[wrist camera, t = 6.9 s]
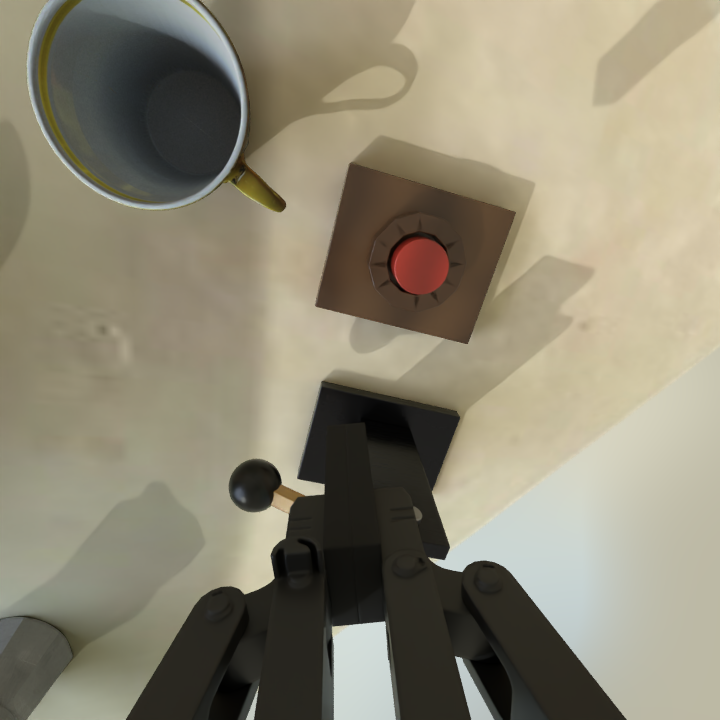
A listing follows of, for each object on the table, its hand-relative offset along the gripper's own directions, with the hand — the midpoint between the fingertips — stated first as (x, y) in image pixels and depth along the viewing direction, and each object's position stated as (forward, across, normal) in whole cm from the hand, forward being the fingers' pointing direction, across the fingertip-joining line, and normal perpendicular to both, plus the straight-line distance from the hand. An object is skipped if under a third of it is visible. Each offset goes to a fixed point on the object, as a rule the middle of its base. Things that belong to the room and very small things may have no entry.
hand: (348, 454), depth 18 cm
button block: (+19, +6, +5) cm, 20 cm away
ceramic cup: (+19, -7, +14) cm, 25 cm away
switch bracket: (+19, +2, -11) cm, 22 cm away
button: (+16, +6, +5) cm, 17 cm away
